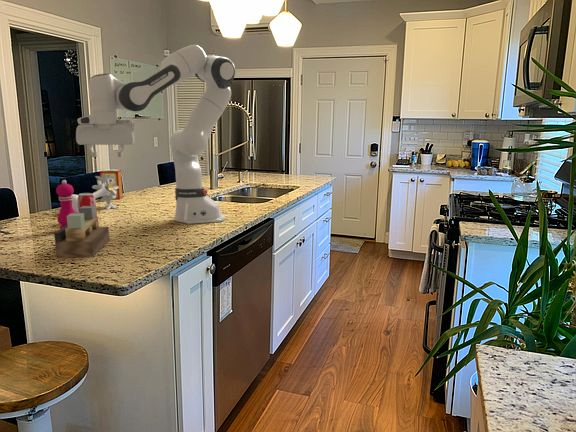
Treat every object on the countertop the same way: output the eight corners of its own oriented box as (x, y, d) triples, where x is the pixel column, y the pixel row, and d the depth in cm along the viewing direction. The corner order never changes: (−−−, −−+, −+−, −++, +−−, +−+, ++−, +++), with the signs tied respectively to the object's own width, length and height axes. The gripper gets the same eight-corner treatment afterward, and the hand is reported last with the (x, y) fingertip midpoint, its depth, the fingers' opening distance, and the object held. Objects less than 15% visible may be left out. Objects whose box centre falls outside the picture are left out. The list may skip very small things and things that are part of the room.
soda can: (90, 223, 184) (88, 195, 181) (75, 222, 185) (73, 194, 183) (100, 220, 191) (98, 193, 188) (86, 219, 192) (84, 192, 189)
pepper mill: (58, 233, 168) (53, 181, 164) (58, 229, 174) (53, 179, 170) (79, 231, 171) (74, 180, 167) (78, 227, 178) (73, 178, 173)
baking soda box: (101, 199, 240) (99, 170, 236) (105, 197, 246) (103, 169, 243) (119, 199, 241) (117, 170, 237) (122, 197, 247) (120, 169, 244)
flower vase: (81, 229, 202) (126, 207, 220) (72, 193, 192) (119, 174, 210) (65, 220, 208) (109, 200, 226) (55, 186, 199) (102, 167, 217)
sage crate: (85, 225, 143) (84, 213, 142) (81, 228, 139) (80, 215, 138) (72, 225, 142) (70, 213, 141) (67, 228, 138) (66, 216, 138)
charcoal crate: (95, 216, 155) (94, 205, 154) (92, 219, 151) (91, 208, 151) (84, 217, 155) (83, 206, 154) (80, 219, 151) (79, 208, 150)
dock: (109, 239, 159) (107, 218, 157) (93, 256, 140) (91, 232, 138) (77, 240, 158) (75, 219, 156) (56, 257, 138) (54, 233, 137)
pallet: (98, 227, 157) (97, 216, 156) (83, 240, 139) (81, 228, 138) (84, 227, 156) (83, 216, 155) (66, 241, 139) (65, 228, 138)
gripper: (135, 119, 166) (137, 156, 169) (78, 119, 163) (81, 156, 166) (131, 119, 160) (134, 157, 163) (72, 119, 157) (76, 157, 160)
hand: (107, 157), depth 164 cm, fingers open, 8 cm apart
